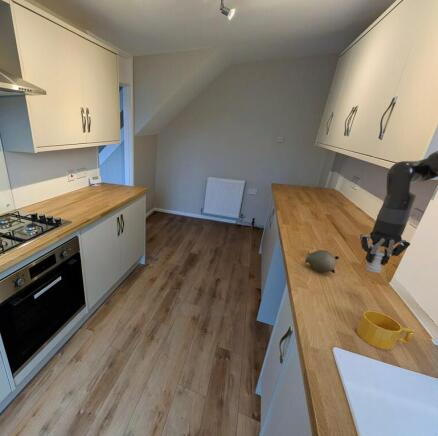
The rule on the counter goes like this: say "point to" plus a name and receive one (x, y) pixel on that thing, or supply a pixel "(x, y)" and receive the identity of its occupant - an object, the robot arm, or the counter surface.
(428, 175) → the robot arm
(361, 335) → the mug
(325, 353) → the counter surface
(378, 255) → the rook chess piece
